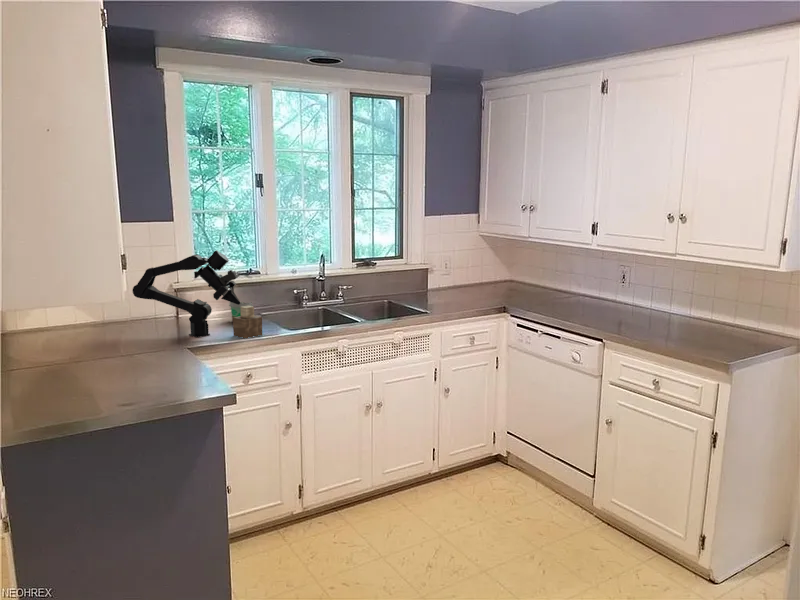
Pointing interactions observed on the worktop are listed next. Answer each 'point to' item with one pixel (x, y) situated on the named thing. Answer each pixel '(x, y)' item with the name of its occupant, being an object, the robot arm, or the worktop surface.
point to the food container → (238, 308)
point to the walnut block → (247, 326)
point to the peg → (247, 312)
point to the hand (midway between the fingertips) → (239, 303)
